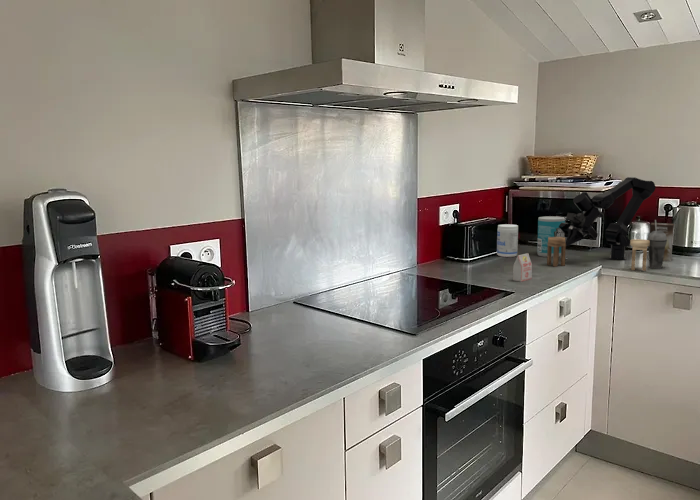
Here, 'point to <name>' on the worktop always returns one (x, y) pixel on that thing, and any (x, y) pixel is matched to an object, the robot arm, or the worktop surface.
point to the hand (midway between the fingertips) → (566, 245)
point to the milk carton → (522, 268)
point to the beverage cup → (656, 248)
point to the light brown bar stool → (639, 245)
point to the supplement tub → (507, 240)
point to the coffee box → (668, 232)
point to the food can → (548, 233)
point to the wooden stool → (556, 250)
